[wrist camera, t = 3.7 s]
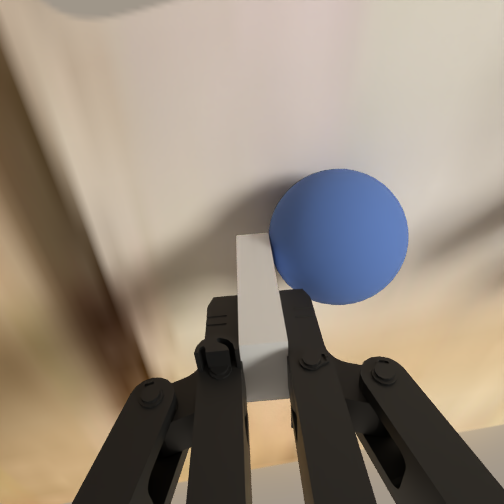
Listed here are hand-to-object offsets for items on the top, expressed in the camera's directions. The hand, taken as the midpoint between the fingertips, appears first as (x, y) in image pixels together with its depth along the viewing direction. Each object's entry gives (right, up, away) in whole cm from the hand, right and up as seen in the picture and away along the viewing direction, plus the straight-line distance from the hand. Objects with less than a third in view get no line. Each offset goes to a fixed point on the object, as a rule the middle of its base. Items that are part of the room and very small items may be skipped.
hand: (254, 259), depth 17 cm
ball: (+4, +1, -1) cm, 4 cm away
